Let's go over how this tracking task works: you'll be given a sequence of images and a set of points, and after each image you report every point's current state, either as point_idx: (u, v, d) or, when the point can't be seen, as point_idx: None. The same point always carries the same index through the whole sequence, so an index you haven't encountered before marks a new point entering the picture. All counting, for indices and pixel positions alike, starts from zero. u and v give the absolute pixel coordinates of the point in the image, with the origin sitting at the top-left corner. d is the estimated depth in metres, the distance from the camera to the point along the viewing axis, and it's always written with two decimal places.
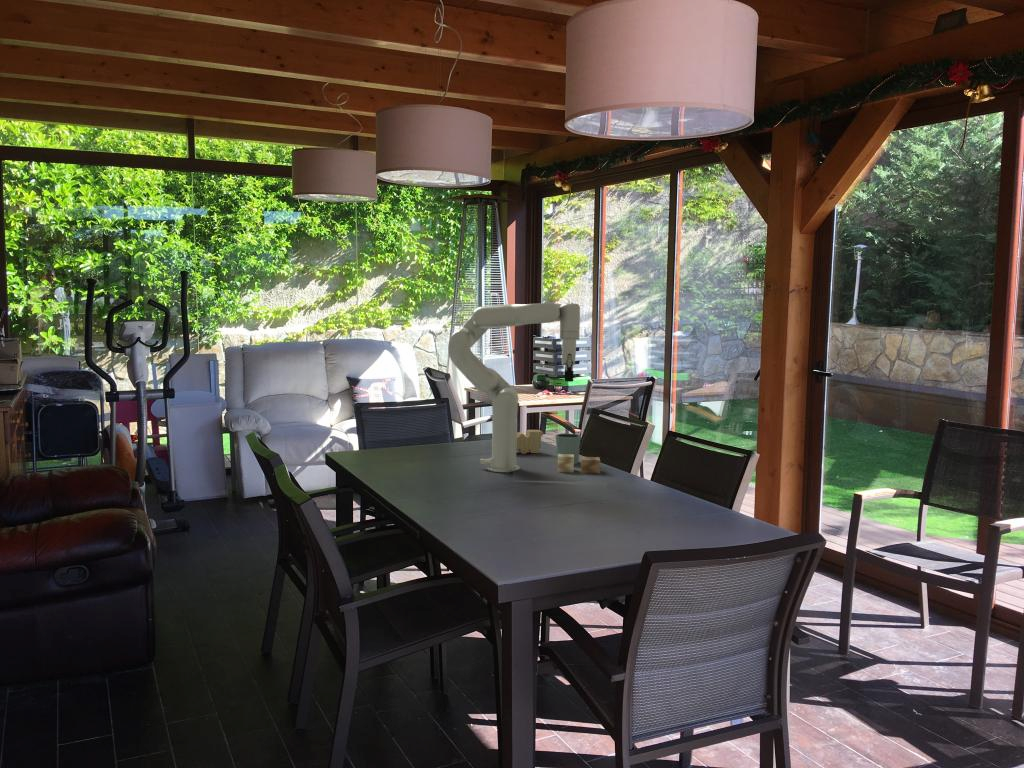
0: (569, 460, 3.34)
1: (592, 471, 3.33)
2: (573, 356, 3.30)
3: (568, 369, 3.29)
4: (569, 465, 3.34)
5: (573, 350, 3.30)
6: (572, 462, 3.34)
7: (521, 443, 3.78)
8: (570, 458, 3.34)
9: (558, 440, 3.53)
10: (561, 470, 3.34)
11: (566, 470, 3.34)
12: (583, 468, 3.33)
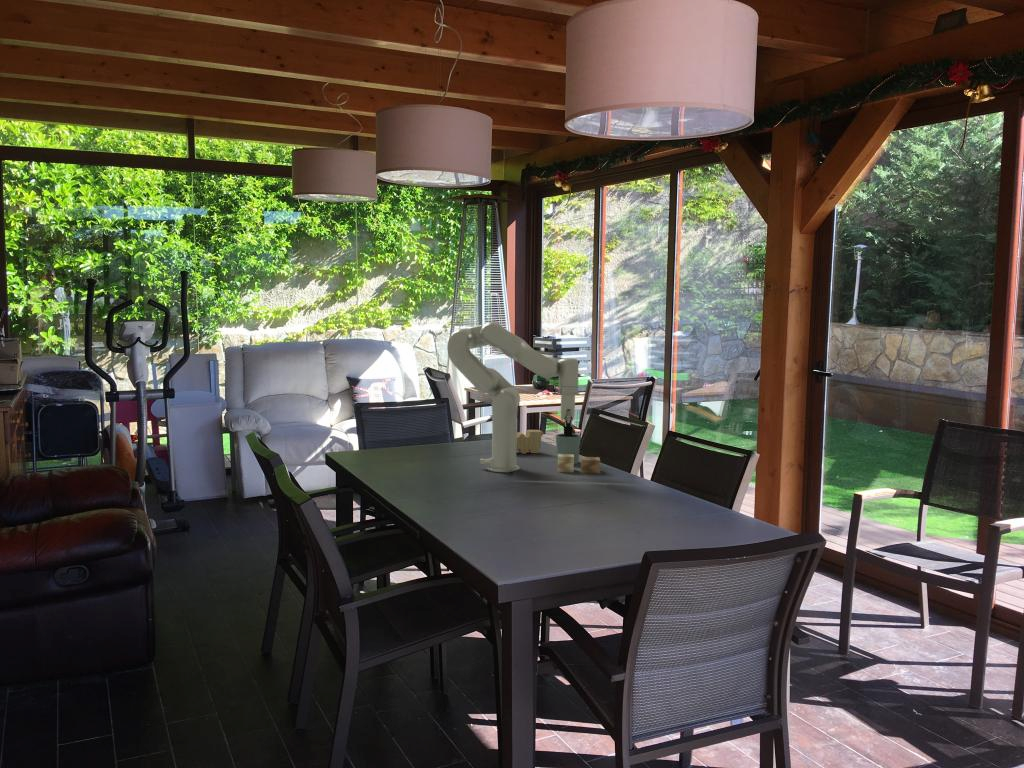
0: (569, 460, 3.34)
1: (592, 471, 3.33)
2: (572, 412, 3.30)
3: (567, 425, 3.29)
4: (569, 465, 3.34)
5: (572, 406, 3.30)
6: (572, 462, 3.34)
7: (521, 443, 3.78)
8: (570, 458, 3.34)
9: (558, 440, 3.53)
10: (561, 470, 3.34)
11: (566, 470, 3.34)
12: (583, 468, 3.33)
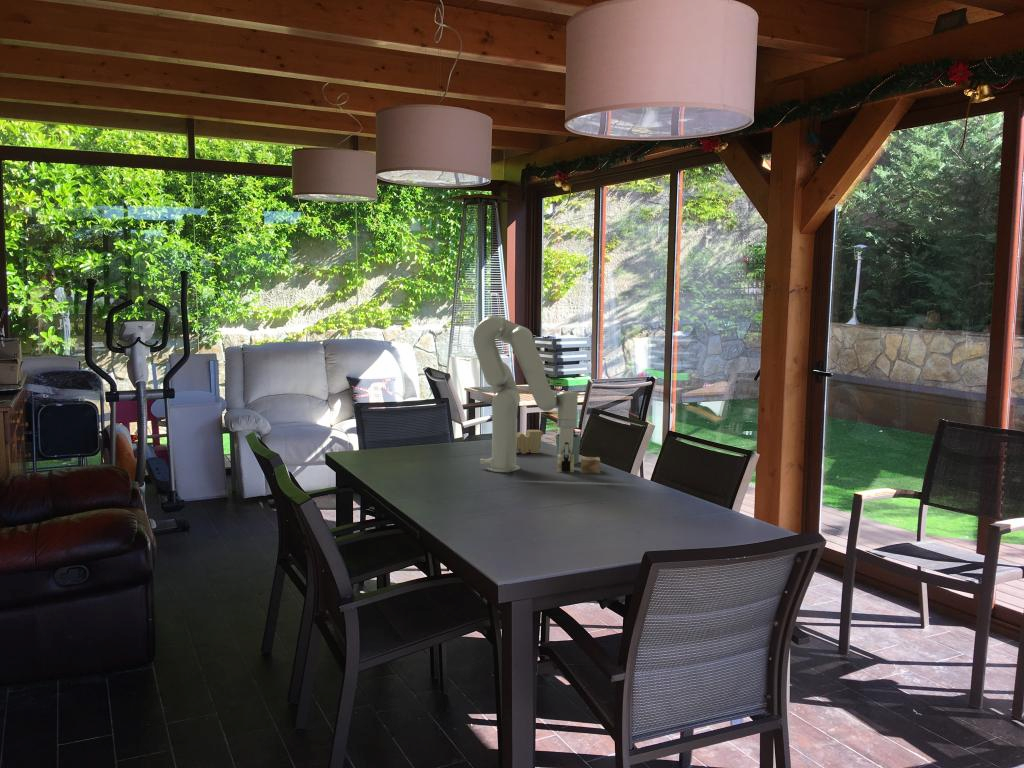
0: None
1: (592, 471, 3.33)
2: (570, 445, 3.32)
3: (565, 460, 3.32)
4: None
5: (570, 439, 3.32)
6: (572, 462, 3.34)
7: (521, 443, 3.78)
8: (570, 458, 3.34)
9: (558, 440, 3.53)
10: (561, 470, 3.34)
11: None
12: (583, 468, 3.33)
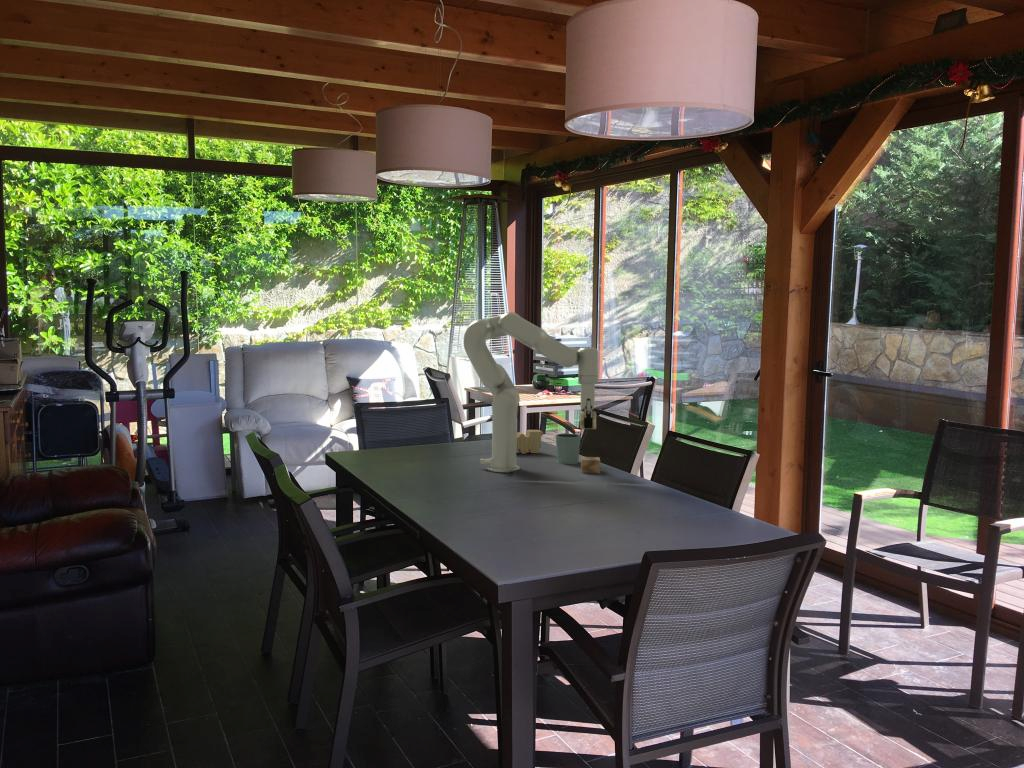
0: None
1: (592, 471, 3.33)
2: (592, 401, 3.30)
3: (587, 416, 3.30)
4: None
5: (592, 395, 3.30)
6: (594, 418, 3.32)
7: (521, 443, 3.78)
8: (592, 414, 3.32)
9: (558, 440, 3.53)
10: (583, 427, 3.33)
11: None
12: (583, 468, 3.33)
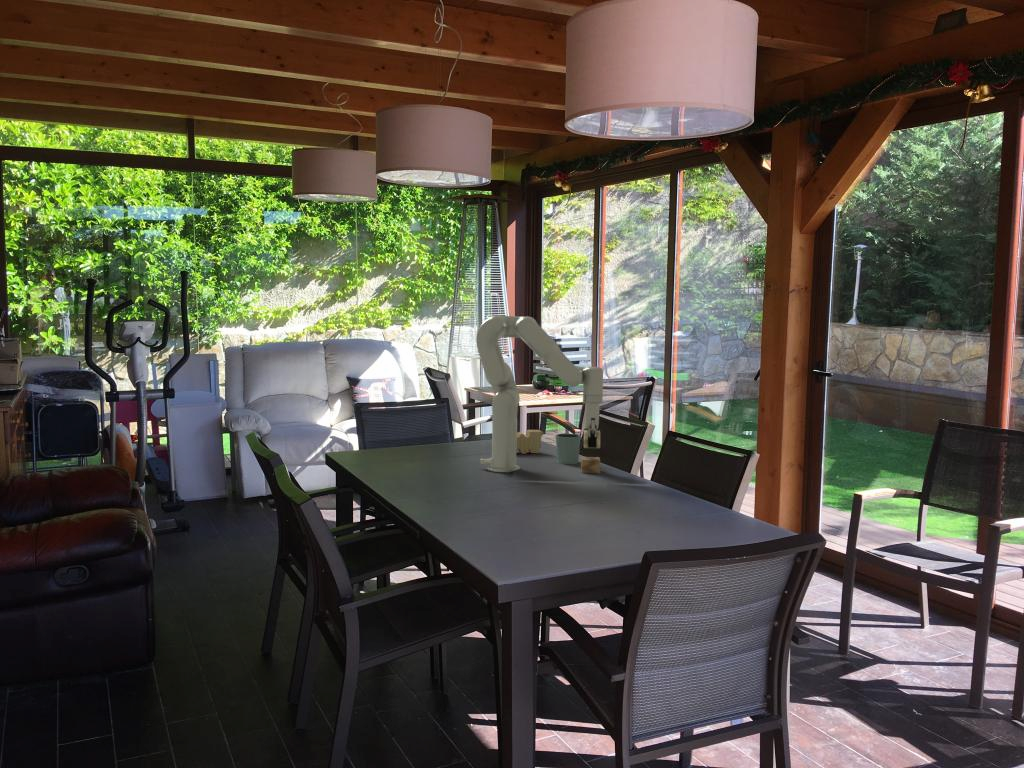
0: None
1: (592, 471, 3.33)
2: (596, 420, 3.30)
3: (591, 435, 3.31)
4: None
5: (596, 414, 3.30)
6: (598, 438, 3.33)
7: (521, 443, 3.78)
8: (596, 434, 3.33)
9: (558, 440, 3.53)
10: (587, 446, 3.33)
11: None
12: (583, 468, 3.33)
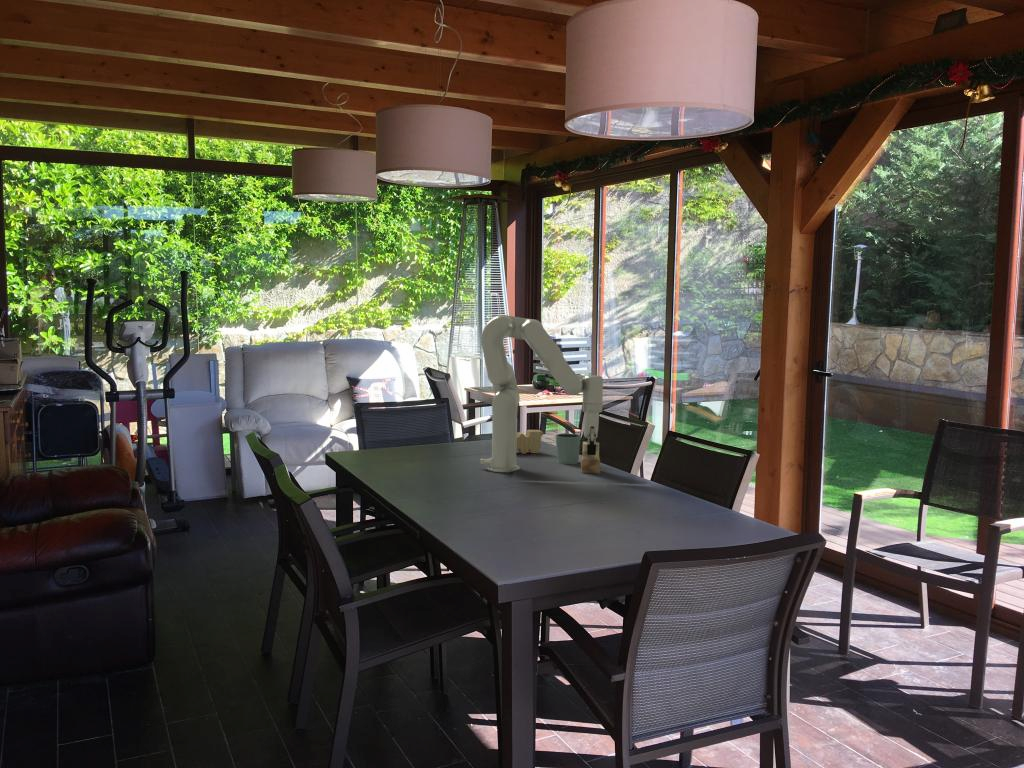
0: None
1: (592, 471, 3.33)
2: (596, 429, 3.31)
3: (591, 443, 3.30)
4: None
5: (596, 423, 3.31)
6: (597, 450, 3.33)
7: (521, 443, 3.78)
8: None
9: (558, 440, 3.53)
10: (586, 458, 3.34)
11: (591, 458, 3.33)
12: (583, 468, 3.33)
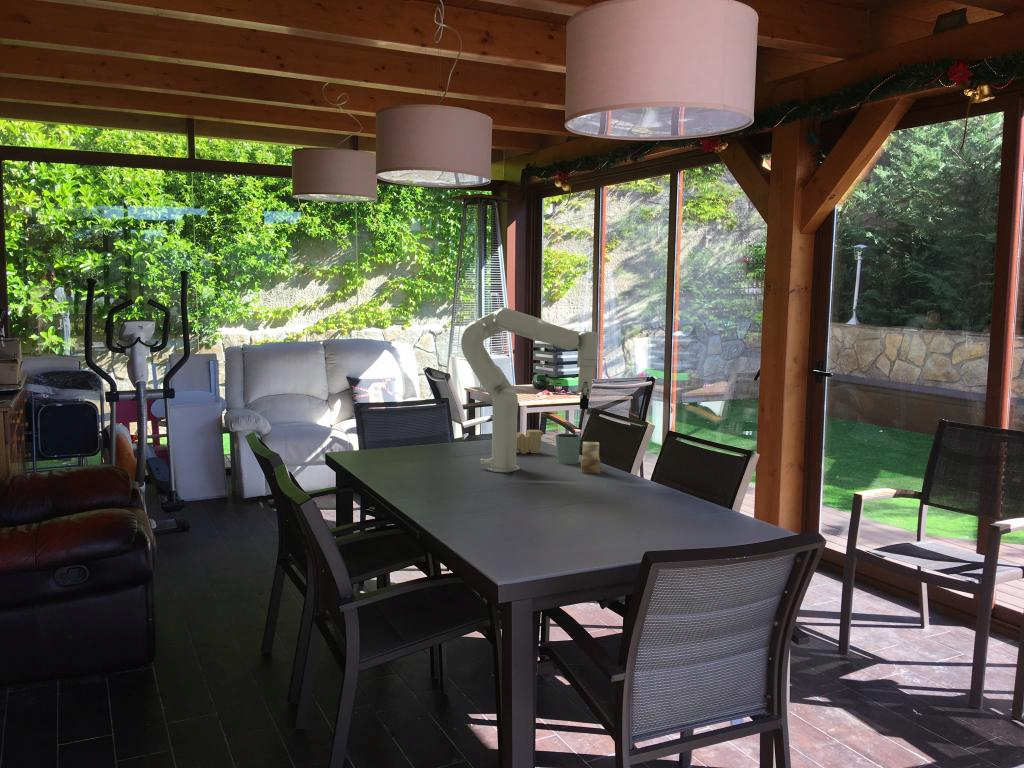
0: (594, 448, 3.33)
1: (592, 471, 3.33)
2: (589, 384, 3.32)
3: (583, 397, 3.31)
4: (594, 452, 3.33)
5: (589, 378, 3.32)
6: (597, 450, 3.33)
7: (521, 443, 3.78)
8: (595, 446, 3.33)
9: (558, 440, 3.53)
10: (586, 458, 3.34)
11: (591, 458, 3.33)
12: (583, 468, 3.33)
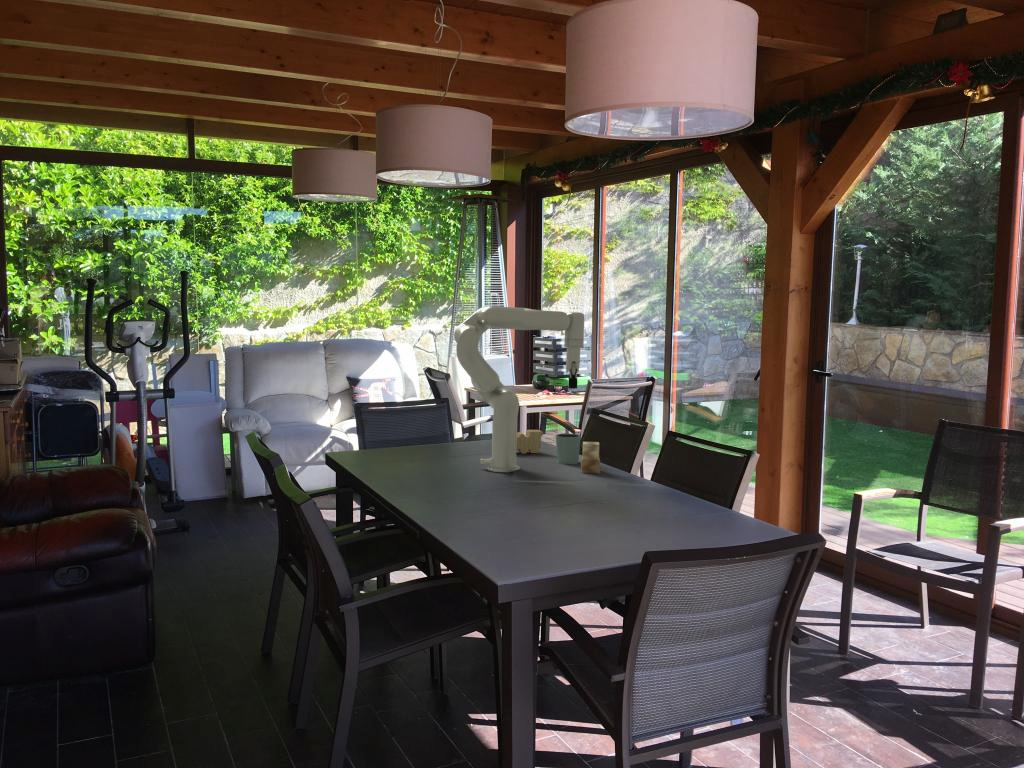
0: (594, 448, 3.33)
1: (592, 471, 3.33)
2: (577, 364, 3.39)
3: (572, 376, 3.38)
4: (594, 452, 3.33)
5: (577, 358, 3.39)
6: (597, 450, 3.33)
7: (521, 443, 3.78)
8: (595, 446, 3.33)
9: (558, 440, 3.53)
10: (586, 458, 3.34)
11: (591, 458, 3.33)
12: (583, 468, 3.33)
